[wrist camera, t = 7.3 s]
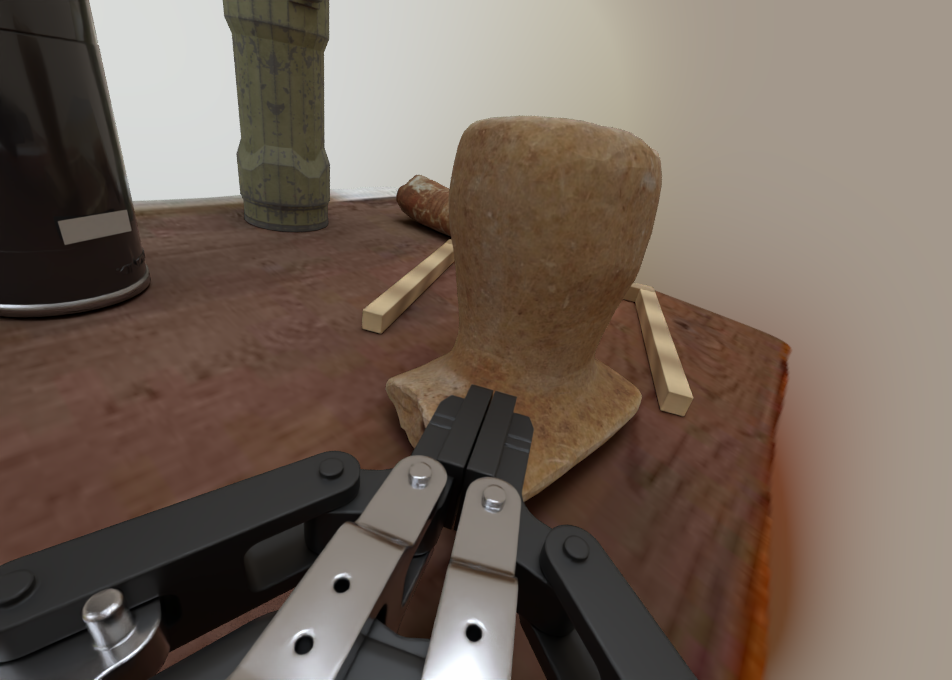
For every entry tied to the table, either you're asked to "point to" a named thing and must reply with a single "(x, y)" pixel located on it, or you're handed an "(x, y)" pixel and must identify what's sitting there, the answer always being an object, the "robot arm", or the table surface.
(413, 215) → the rusty brown cylinder
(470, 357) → the stone cup
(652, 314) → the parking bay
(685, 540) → the table surface
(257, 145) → the thermos
